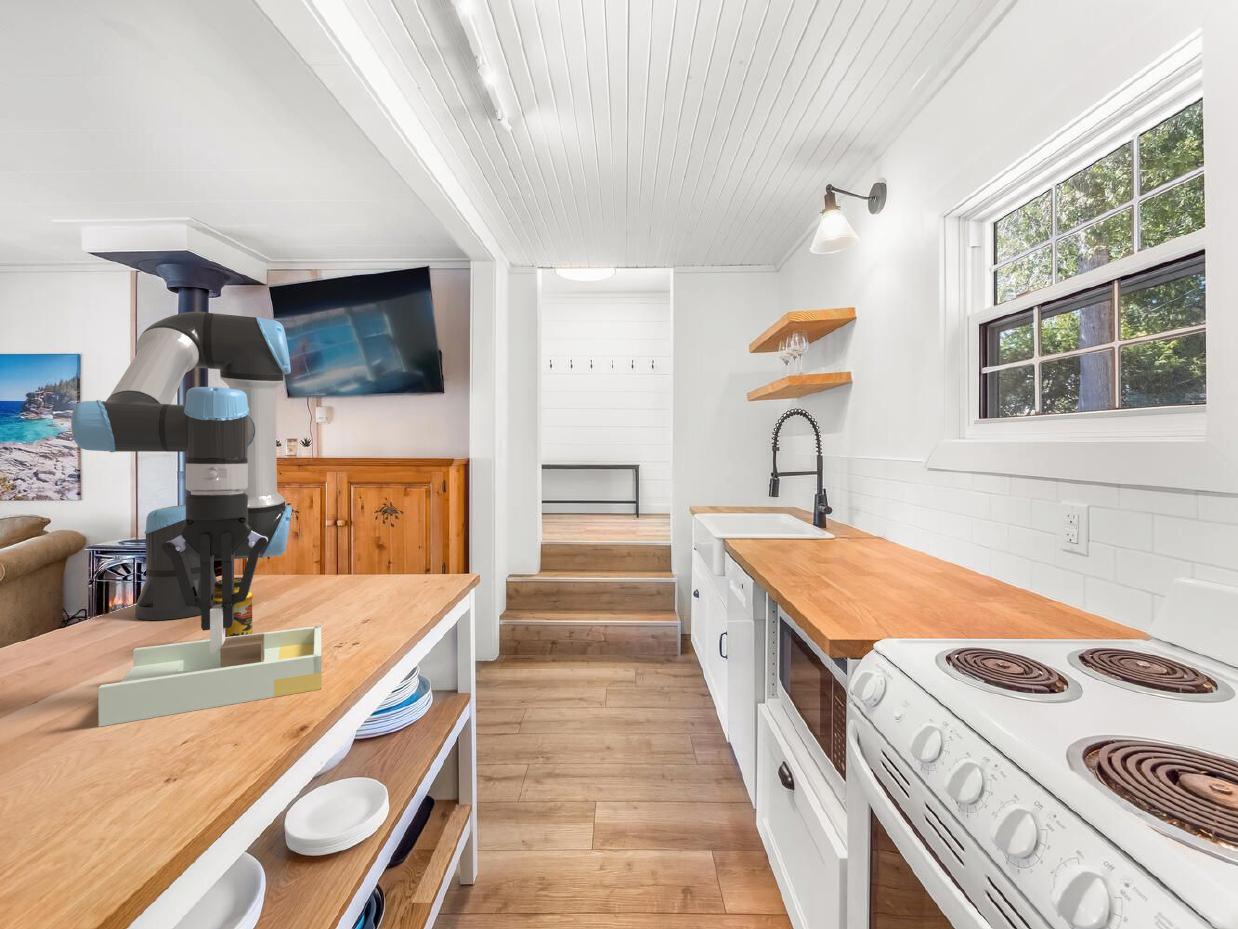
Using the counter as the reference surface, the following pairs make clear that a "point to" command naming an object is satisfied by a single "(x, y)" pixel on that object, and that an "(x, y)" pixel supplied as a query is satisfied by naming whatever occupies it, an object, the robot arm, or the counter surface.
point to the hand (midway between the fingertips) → (217, 650)
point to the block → (242, 650)
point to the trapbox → (210, 677)
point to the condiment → (237, 610)
